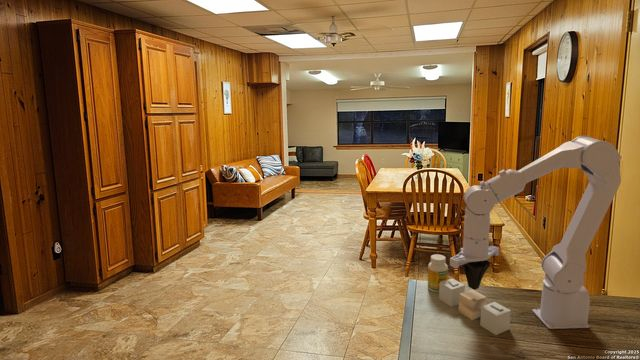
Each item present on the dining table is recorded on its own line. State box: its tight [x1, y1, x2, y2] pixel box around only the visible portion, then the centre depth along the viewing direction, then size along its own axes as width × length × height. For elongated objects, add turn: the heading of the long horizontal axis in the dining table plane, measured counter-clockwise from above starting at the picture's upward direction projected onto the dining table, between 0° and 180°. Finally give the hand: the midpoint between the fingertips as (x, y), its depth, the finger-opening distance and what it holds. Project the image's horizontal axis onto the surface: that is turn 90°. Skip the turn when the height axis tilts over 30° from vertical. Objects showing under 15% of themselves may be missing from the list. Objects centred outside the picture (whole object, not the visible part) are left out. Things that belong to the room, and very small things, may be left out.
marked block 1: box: [479, 301, 512, 336], centre depth 96 cm, size 4×4×5 cm
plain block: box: [457, 288, 487, 321], centre depth 102 cm, size 4×4×5 cm
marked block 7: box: [438, 277, 466, 307], centre depth 108 cm, size 4×4×5 cm
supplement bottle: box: [427, 253, 449, 294], centre depth 114 cm, size 5×5×10 cm
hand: (473, 287), depth 101 cm, fingers closed
